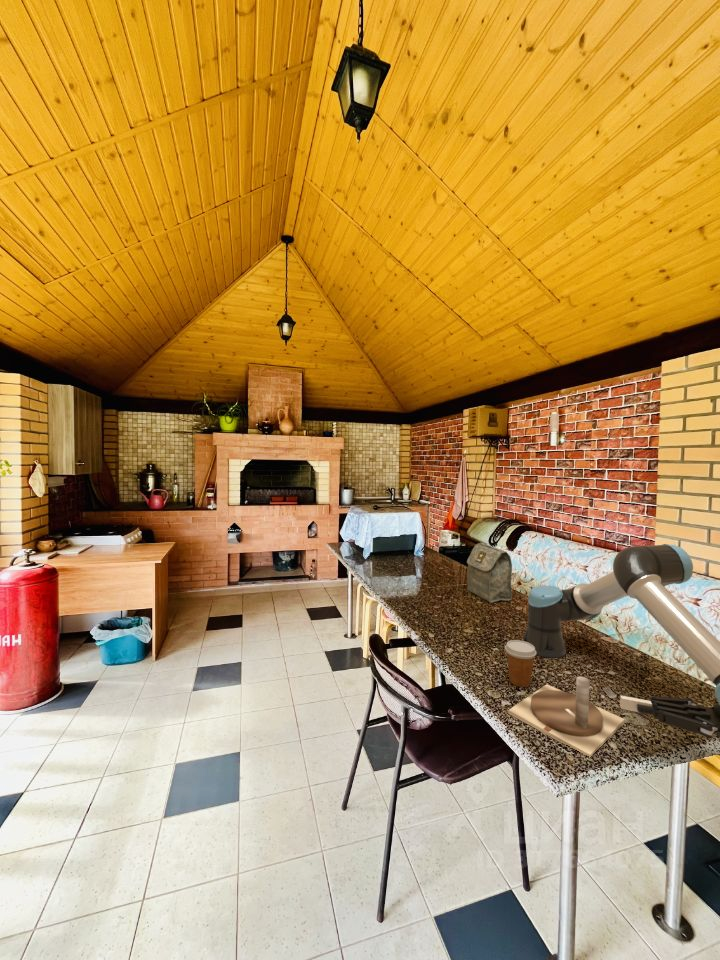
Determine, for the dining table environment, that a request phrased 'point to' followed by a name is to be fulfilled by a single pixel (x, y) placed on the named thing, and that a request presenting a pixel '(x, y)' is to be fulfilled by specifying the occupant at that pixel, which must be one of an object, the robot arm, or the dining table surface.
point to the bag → (489, 573)
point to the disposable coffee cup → (520, 662)
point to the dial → (568, 710)
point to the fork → (619, 701)
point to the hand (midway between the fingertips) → (620, 702)
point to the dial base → (577, 742)
